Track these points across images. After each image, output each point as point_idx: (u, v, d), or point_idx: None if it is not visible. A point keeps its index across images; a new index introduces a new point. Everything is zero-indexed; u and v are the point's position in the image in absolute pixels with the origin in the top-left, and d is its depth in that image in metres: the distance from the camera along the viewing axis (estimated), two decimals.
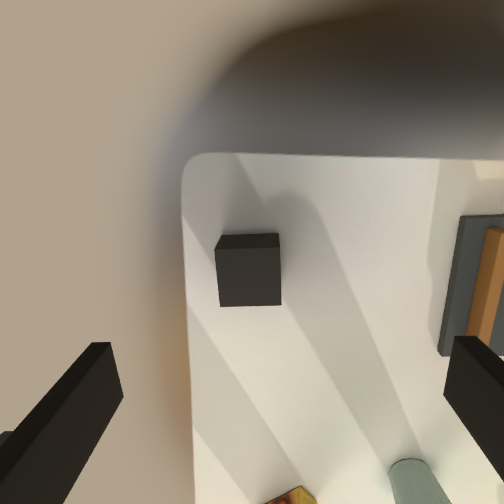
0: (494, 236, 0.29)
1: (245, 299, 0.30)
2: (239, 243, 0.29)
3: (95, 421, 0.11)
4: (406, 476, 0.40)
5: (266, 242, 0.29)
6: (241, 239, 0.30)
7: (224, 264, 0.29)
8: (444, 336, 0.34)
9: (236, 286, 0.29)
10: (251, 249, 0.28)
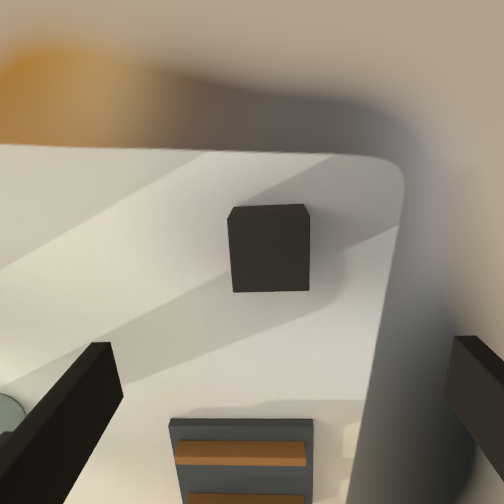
0: (300, 451, 0.33)
1: (239, 251, 0.23)
2: None
3: (95, 421, 0.11)
4: (3, 417, 0.34)
5: None
6: None
7: (288, 227, 0.22)
8: (191, 425, 0.34)
9: (258, 240, 0.23)
10: (307, 259, 0.23)
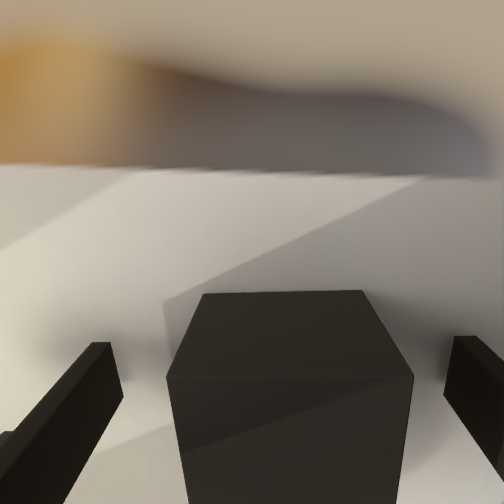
0: None
1: (206, 451, 0.08)
2: None
3: (95, 421, 0.11)
4: None
5: None
6: None
7: (346, 404, 0.08)
8: None
9: (257, 430, 0.08)
10: (394, 478, 0.08)
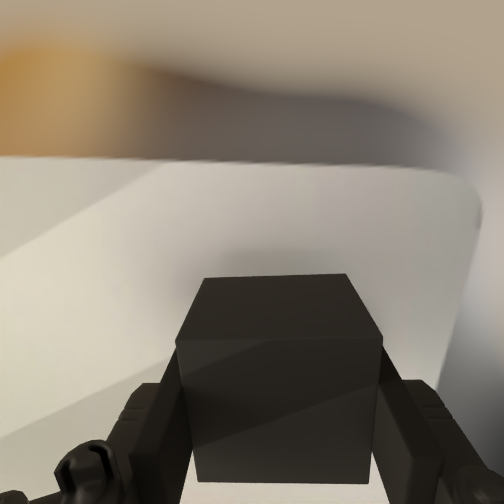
0: None
1: (208, 407, 0.10)
2: None
3: None
4: None
5: None
6: None
7: (327, 362, 0.09)
8: None
9: (253, 387, 0.09)
10: (369, 428, 0.10)
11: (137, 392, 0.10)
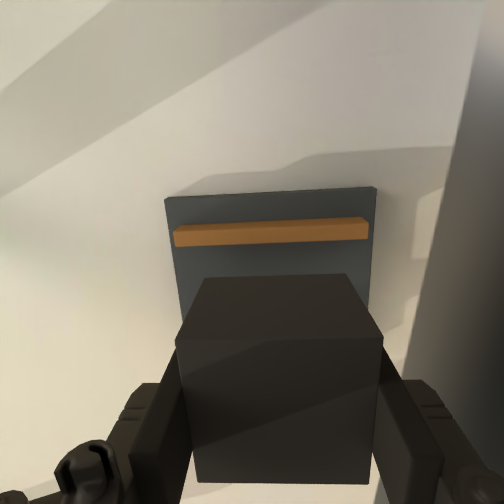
0: (358, 220, 0.22)
1: (208, 408, 0.10)
2: None
3: None
4: None
5: None
6: None
7: (327, 362, 0.09)
8: (197, 197, 0.24)
9: (253, 388, 0.09)
10: (370, 428, 0.10)
11: (137, 392, 0.10)
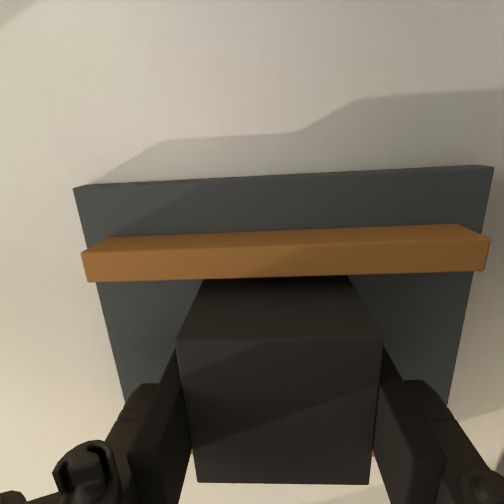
0: (461, 232, 0.11)
1: (208, 408, 0.10)
2: None
3: None
4: None
5: None
6: None
7: (327, 363, 0.09)
8: (137, 184, 0.12)
9: (252, 388, 0.09)
10: (369, 429, 0.10)
11: (136, 392, 0.10)
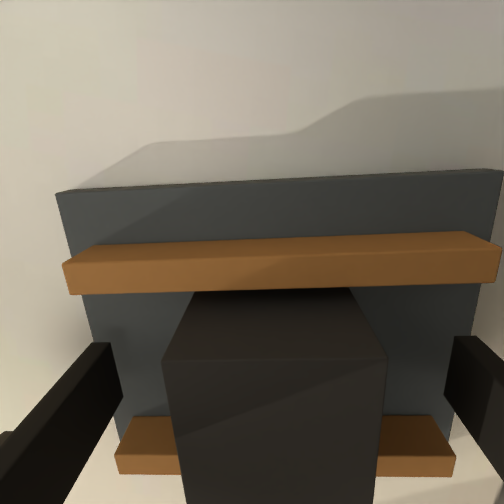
0: (470, 240, 0.10)
1: (198, 432, 0.09)
2: None
3: (95, 421, 0.11)
4: None
5: None
6: None
7: (327, 385, 0.08)
8: (124, 189, 0.11)
9: (246, 411, 0.09)
10: (373, 455, 0.09)
11: None
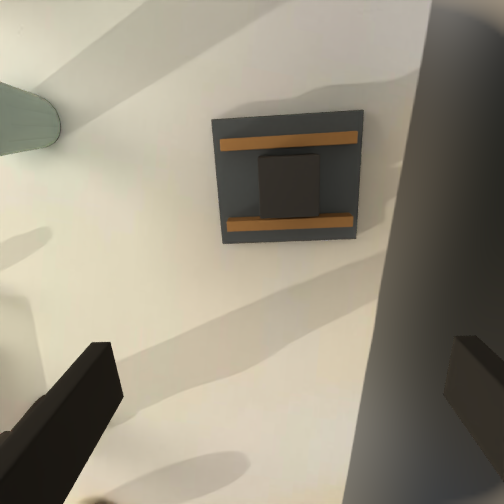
0: None
1: (266, 184, 0.31)
2: None
3: (95, 421, 0.11)
4: (40, 102, 0.32)
5: None
6: None
7: (303, 164, 0.30)
8: (235, 118, 0.33)
9: (280, 175, 0.30)
10: (317, 190, 0.31)
11: None
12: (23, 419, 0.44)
